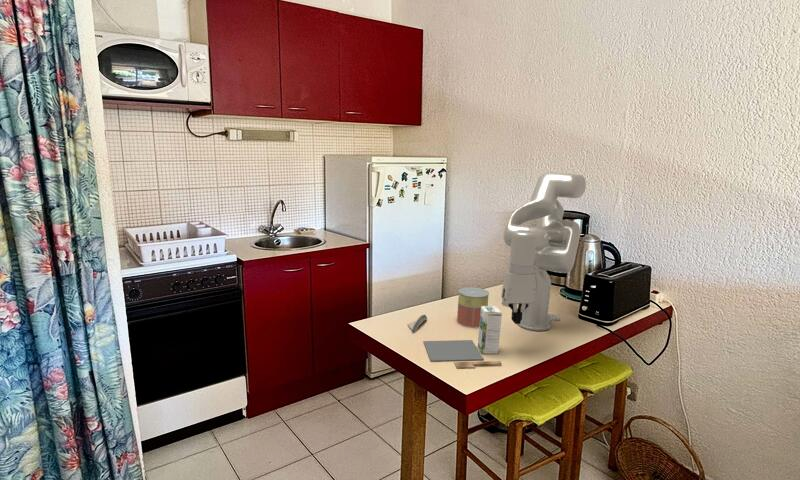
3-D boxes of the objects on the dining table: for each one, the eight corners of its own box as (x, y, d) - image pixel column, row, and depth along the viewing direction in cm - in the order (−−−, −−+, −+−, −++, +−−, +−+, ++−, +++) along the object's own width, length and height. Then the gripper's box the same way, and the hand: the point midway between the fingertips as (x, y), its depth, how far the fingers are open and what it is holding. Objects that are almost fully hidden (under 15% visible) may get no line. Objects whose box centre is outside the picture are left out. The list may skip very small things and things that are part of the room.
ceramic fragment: (414, 334, 161) (414, 324, 161) (401, 331, 164) (401, 321, 163) (428, 321, 174) (428, 312, 173) (416, 319, 176) (416, 309, 175)
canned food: (475, 314, 181) (477, 285, 178) (492, 324, 171) (495, 294, 169) (451, 318, 176) (452, 289, 173) (467, 329, 166) (470, 298, 164)
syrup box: (477, 346, 153) (479, 305, 150) (494, 346, 153) (497, 305, 150) (481, 354, 147) (484, 312, 144) (499, 353, 148) (502, 312, 145)
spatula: (498, 362, 142) (498, 359, 142) (502, 367, 139) (502, 364, 139) (454, 363, 141) (454, 360, 141) (456, 369, 137) (457, 366, 137)
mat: (472, 341, 157) (472, 339, 157) (483, 360, 143) (483, 359, 143) (423, 342, 155) (423, 341, 155) (430, 361, 141) (430, 360, 141)
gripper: (538, 265, 150) (533, 317, 154) (494, 265, 148) (490, 318, 152) (548, 272, 142) (542, 326, 146) (502, 272, 141) (497, 327, 145)
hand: (516, 322), depth 149 cm, fingers closed
